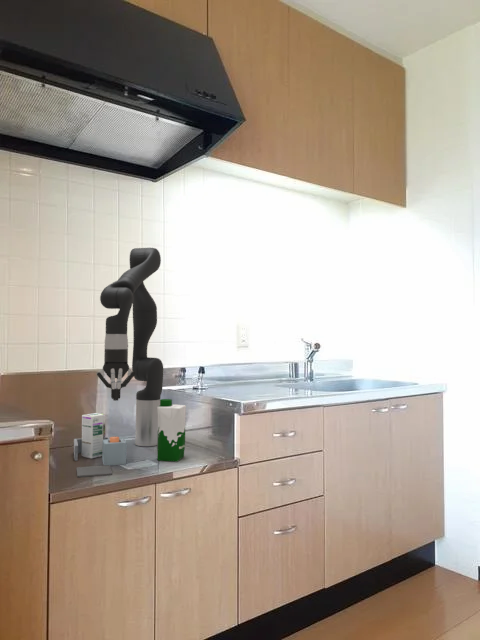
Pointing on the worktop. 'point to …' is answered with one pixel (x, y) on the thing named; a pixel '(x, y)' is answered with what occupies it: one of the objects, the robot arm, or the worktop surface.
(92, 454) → the syrup box
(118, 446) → the grey square socket
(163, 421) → the milk carton
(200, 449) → the worktop surface
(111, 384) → the robot arm
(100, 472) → the mat
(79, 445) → the grey u-shaped frame
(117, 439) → the plunger
